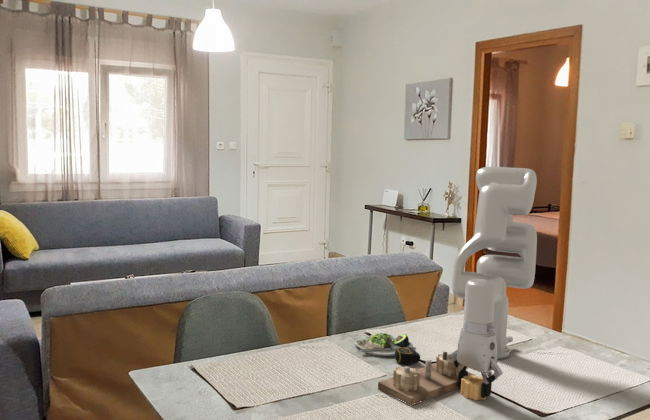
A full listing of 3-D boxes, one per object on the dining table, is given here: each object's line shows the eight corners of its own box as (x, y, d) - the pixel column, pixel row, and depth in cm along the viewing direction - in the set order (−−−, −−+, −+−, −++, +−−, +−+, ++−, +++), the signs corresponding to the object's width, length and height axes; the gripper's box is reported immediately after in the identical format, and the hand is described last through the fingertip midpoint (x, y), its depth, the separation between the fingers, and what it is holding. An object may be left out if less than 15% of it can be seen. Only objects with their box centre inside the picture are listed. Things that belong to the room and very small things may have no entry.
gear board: (442, 367, 172) (443, 341, 171) (475, 381, 163) (476, 354, 162) (377, 389, 156) (379, 360, 155) (410, 405, 147) (411, 375, 146)
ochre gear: (471, 386, 160) (472, 373, 159) (492, 396, 154) (493, 381, 154) (455, 393, 155) (456, 378, 155) (476, 402, 150) (477, 387, 149)
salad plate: (377, 364, 174) (378, 350, 174) (341, 346, 188) (341, 333, 188) (423, 352, 186) (423, 338, 185) (385, 336, 200) (385, 323, 199)
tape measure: (420, 365, 174) (421, 353, 174) (400, 367, 172) (400, 355, 172) (410, 357, 181) (411, 345, 180) (390, 358, 179) (391, 347, 178)
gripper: (515, 333, 148) (510, 399, 150) (460, 315, 162) (457, 377, 164) (497, 338, 143) (492, 407, 145) (442, 320, 157) (439, 383, 159)
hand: (473, 390), depth 155 cm, fingers closed on ochre gear, 6 cm apart
